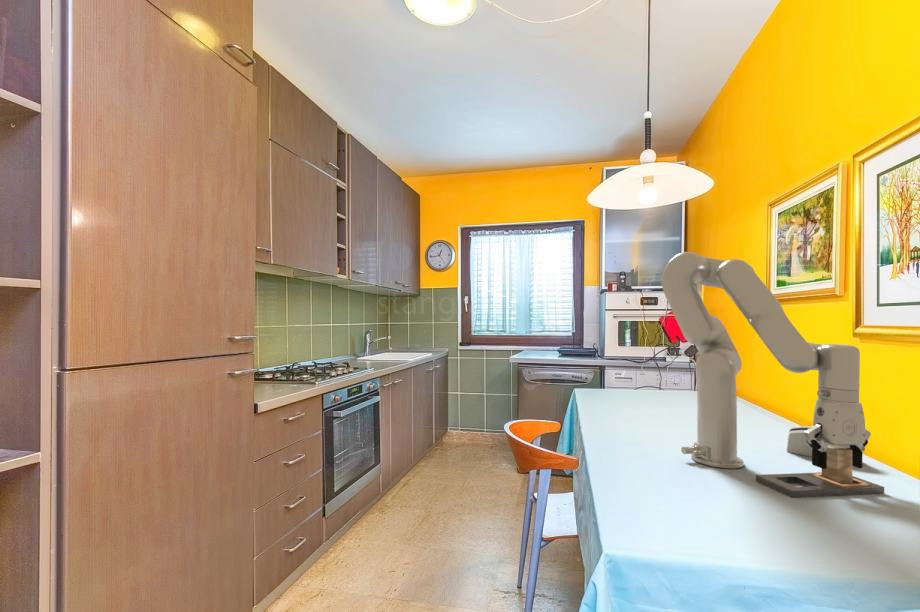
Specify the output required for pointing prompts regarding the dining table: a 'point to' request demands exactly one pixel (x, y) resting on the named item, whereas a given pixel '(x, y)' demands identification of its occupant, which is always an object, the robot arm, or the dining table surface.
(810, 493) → the grey flat holed plate
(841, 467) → the plug
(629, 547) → the dining table surface
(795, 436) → the grey slotted arched block
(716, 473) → the dining table surface
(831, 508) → the dining table surface
